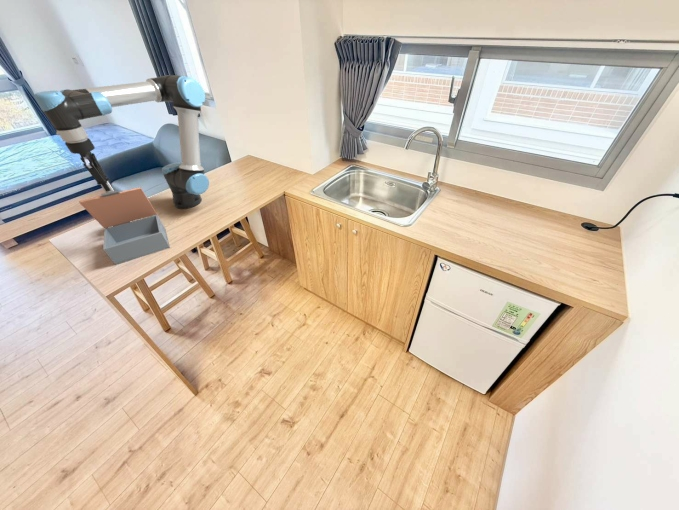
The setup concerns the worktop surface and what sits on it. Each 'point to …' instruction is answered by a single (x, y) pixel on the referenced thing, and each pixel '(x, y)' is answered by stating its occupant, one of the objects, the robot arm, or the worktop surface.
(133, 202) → the lid
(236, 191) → the worktop surface
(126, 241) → the box
